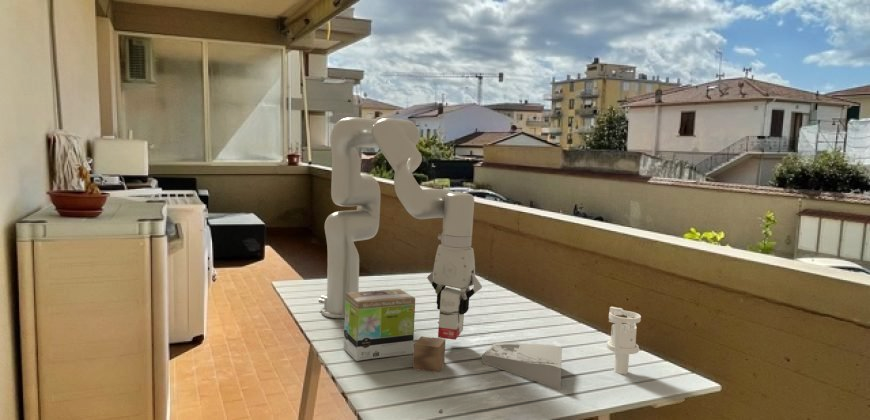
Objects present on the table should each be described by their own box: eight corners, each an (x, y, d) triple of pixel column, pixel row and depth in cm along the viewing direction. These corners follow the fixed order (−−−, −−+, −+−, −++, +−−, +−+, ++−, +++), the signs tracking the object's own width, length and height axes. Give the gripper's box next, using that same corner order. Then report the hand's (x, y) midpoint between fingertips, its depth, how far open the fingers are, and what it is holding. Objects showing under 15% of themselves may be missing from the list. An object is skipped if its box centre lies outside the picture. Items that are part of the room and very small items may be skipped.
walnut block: (413, 369, 128) (413, 344, 128) (420, 360, 134) (421, 336, 134) (438, 372, 127) (439, 347, 126) (444, 363, 133) (445, 339, 132)
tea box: (356, 363, 131) (357, 301, 130) (343, 349, 140) (344, 291, 138) (414, 354, 138) (416, 296, 137) (397, 342, 147) (399, 287, 145)
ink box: (455, 340, 139) (459, 294, 138) (437, 337, 140) (440, 292, 139) (463, 330, 147) (466, 286, 146) (445, 327, 148) (448, 284, 147)
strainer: (612, 363, 136) (616, 303, 135) (641, 371, 132) (645, 309, 130) (600, 371, 131) (604, 309, 129) (630, 380, 126) (634, 315, 125)
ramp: (465, 353, 141) (466, 332, 140) (517, 345, 148) (517, 326, 148) (533, 397, 116) (534, 372, 116) (591, 385, 123) (592, 362, 123)
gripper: (419, 238, 142) (415, 307, 144) (481, 248, 133) (475, 321, 135) (434, 235, 148) (430, 301, 150) (493, 244, 140) (488, 314, 142)
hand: (452, 310), depth 143 cm, fingers closed on ink box, 5 cm apart
